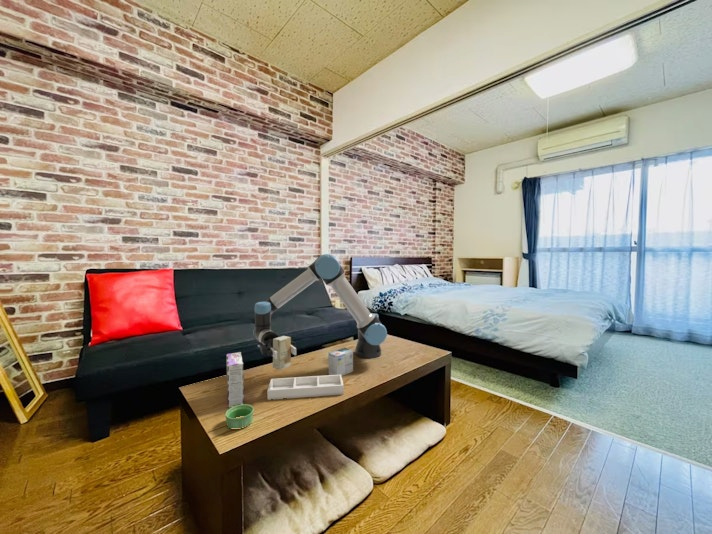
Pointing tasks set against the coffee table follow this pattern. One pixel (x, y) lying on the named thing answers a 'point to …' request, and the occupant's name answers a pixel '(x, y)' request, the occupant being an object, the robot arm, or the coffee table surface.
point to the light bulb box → (340, 361)
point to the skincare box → (282, 352)
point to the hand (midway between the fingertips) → (286, 353)
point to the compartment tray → (305, 387)
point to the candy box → (235, 379)
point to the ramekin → (237, 412)
